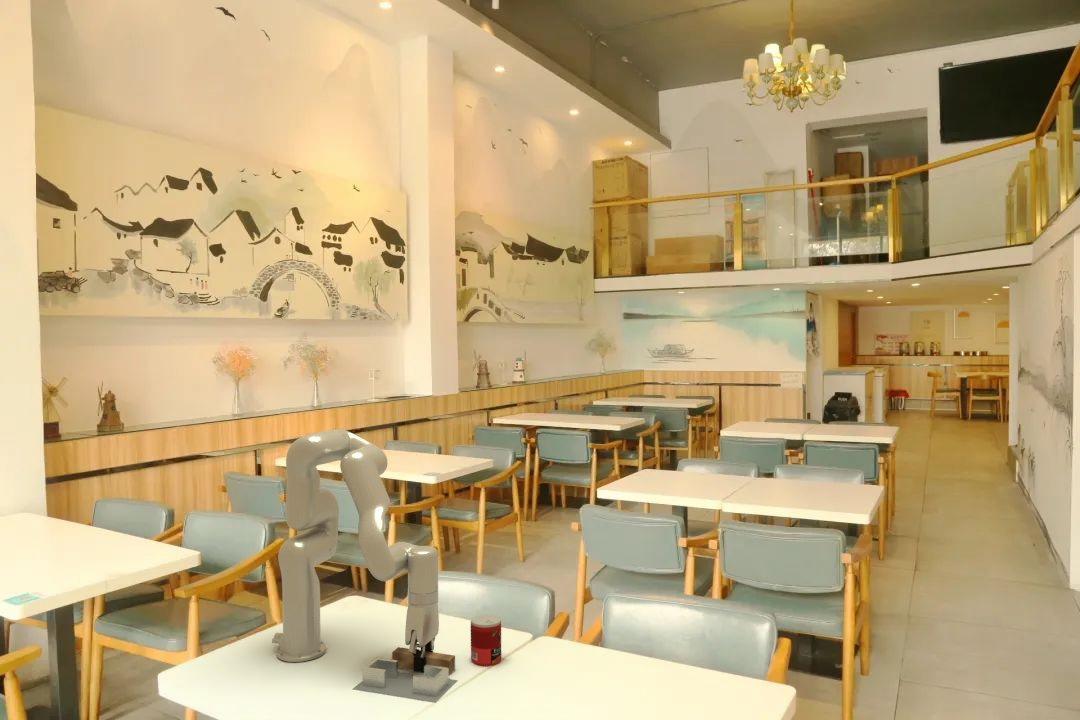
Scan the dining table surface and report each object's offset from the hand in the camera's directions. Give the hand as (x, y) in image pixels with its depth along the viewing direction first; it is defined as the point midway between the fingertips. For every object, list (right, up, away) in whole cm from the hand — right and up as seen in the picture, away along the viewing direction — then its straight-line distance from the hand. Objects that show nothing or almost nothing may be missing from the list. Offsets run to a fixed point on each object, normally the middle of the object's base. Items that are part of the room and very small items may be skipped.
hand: (423, 668), depth 187 cm
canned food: (+15, -1, +5) cm, 16 cm away
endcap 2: (+4, 0, -11) cm, 12 cm away
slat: (0, 0, 0) cm, 0 cm away
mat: (-3, -1, -9) cm, 10 cm away
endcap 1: (-9, 0, -7) cm, 12 cm away
